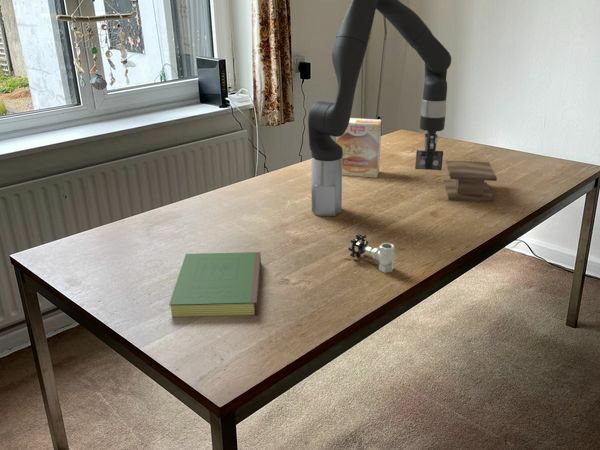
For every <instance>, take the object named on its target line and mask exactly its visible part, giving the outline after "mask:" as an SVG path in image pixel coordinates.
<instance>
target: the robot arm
mask: <svg viewBox="0 0 600 450" xmlns="http://www.w3.org/2000/svg"><path fill="white" fill-rule="evenodd" d="M376 10H377V12H379V13H380V14H381V15H382V16H383V17H384V18H385V19H386V20H387V21H388V22H389V23H390V24H391V25H392V26H393V28H394V29H396V31H397V32H398V33H399V34H400V35H401V36H402V38H403V39H404V40H405V41H406V42H407V43H408V45H409V46H410V47H411V48H412V49H413V50H415V52H416V53H417V54H418V56H419V57H420V58H421V60H422V62H424V85H423V91H422V93H423V95H422V103H421V105H420V106H421V107H420V119H419V120H420V121H419V129H420V130H422V131H426V133H424V137H423V138H424V150H426V155H425V157H426V162H425V169H432V165H433V158H434V157H435V151H437V145H438V144H437V143H438V141H439V136H438V133H437V132H441V131H444V130H445V124H446V114H447V96H448V95H447V94H448V81H447V77H448V76H447V74H448V69H449V68H450V66H451V64H452V56H451V54H450V52H449V51H448V49H446V47H445V46H444V45H443V44H442V43H441V42H440V40H438V39H437V38H436V36H434V34H433V32H432V31H431V29H430V28H429V27H428V26H427V24H426V23H425V22H424V21H423V20H422V18H421V17H420V16H419V15H418V14H417V13H416V12H415V11H413V9H412V8H410V7H408V6H407V5H405V4H404V3H402V2H401V1H400V0H351V2H350V5H349V7H348V8H347V11H346V12H345V15H344V17H343V19H342V21H341V24H340V26H339V28H338V31H337V33H336V36H335V40H334V45H333V47H332V53H331V60H332V64H333V65H332V66H333V69H334V72H335V76H336V80H337V91H336V97H335V101H334V102H329V101H321V100H319V101H316V102H314V103H313V104H312V105H311V106H310V109H309V112H308V117H307V126H308V127H307V128H308V131H307V132H308V144H309V149H310V153H311V212H312V213H313V214H314V215H315V216H321V217H322V216H323V217H325V216H327V217H336V216H337V215H338V214H340V213H341V212H342V201H343V199H342V197H343V195H342V194H343V191H342V190H343V175H342V160H343V150H342V147H341V146H340V145H339V144H337V143H336V141H335V140H334V139H333V138H332V137H335V138H337V137H339V136H342V135H343V134H344V133H345V131H346V129H347V127H348V124H349V121H350V118H351V115H352V111H353V104H354V100H355V99H354V98H355V93H356V88H357V83H358V80H359V78H360V77H359V75H360V72H361V69H362V66H363V63H364V59H365V56H366V52H367V49H368V48H367V47H368V43H369V39H370V36H371V31H372V28H373V23H374V17H375V14H376ZM428 153H432V154H428Z"/></svg>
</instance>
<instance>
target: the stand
mask: <svg viewBox="0 0 600 450" xmlns="http://www.w3.org/2000/svg"><path fill="white" fill-rule="evenodd" d="M445 161H446V162H445V165H446V168H447V172H448V176H449V178H450V179H448V180H444V181H443V185H444V188H445V191H446V196H447V200H448V201H468V202H493V203H494V201H495V197H494V196H493V193H492V191H491V189H490V187H489V184H488V182H489V181H494V182H497V180H498V179H497V178H498V177H497V175H496V173H495V172H494V171H495V170H494V169H493V167H492V165H491V163H490V161H467V160H465V161H464V160H445ZM487 181H488V182H487Z"/></svg>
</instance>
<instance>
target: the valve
mask: <svg viewBox="0 0 600 450" xmlns="http://www.w3.org/2000/svg"><path fill="white" fill-rule="evenodd" d="M366 239H367V235H366V234H363V233H362V234H360V233H356V236H355V238H351V239H350V244H351V246H349V247H348V248H347V250H348V251H349V252H350V255H349V256H350V257H352V258H355V257H356V258H358V259H359V258H361V257H362V255H363V254H364V253H366V254H368V255H371V258H372V259H374V260H376V261H378V271H380V272H382V273H387V274H388V273H392V272H393V269H394V263H395V262H396V254H395V245H394V244H393V243H390V242H384V243H381V244H380V245H379V247H375V248H373V247H371V246H367V245H368V244H369V241H368V240H366ZM359 241H361V242H359ZM356 249H357V250H356Z"/></svg>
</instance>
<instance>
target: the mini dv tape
mask: <svg viewBox="0 0 600 450" xmlns="http://www.w3.org/2000/svg"><path fill="white" fill-rule="evenodd" d="M415 154H416V155H415V165H414V169H415V170H424V171H425V170H427V171H428V170H429V171H442V169H443V159H444V158H443V157H444V150H436V151H435V157H434V158H433V165H432V169H425V162H426V157H425V155H426V150H425V149H417V150H416V153H415ZM428 154H432V153H428Z"/></svg>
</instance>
